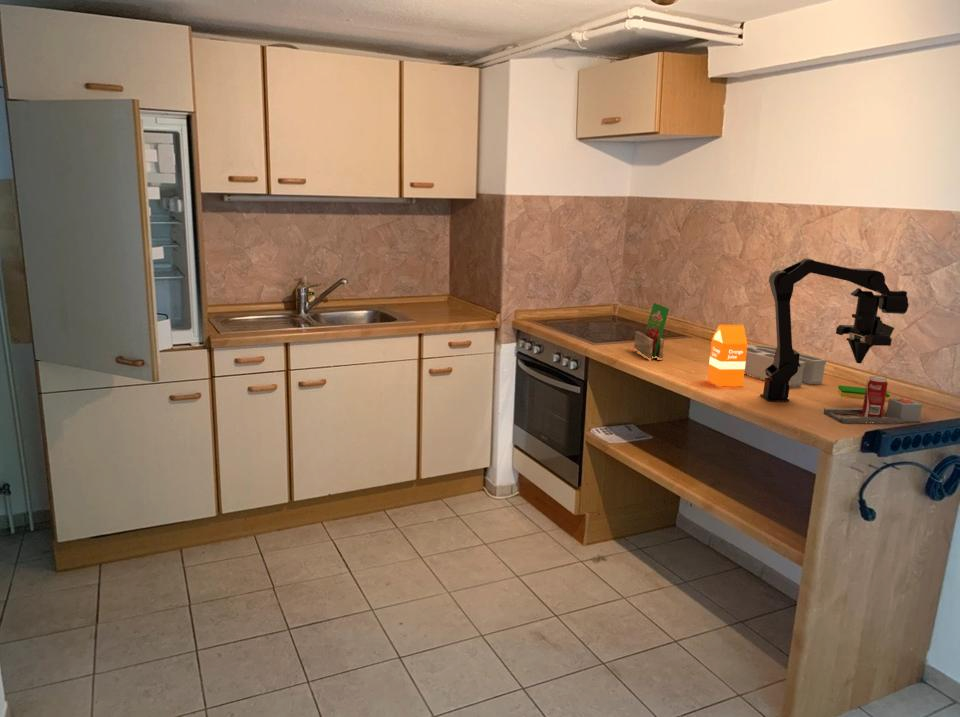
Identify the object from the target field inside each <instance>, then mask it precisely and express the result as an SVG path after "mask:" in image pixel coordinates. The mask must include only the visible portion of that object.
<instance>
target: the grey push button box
mask: <svg viewBox="0 0 960 717" xmlns="http://www.w3.org/2000/svg"><path fill="white" fill-rule="evenodd" d="M886 407H887V409H886V416H887V415H888V416H887V417H889V416H890V417H901V418H903V422H920V421H921V413H922V408H923V404H921V403H920V402H916V401H915V400H912V399H911V403H902V402H900V398H889V401H887V406H886Z"/></svg>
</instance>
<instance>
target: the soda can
mask: <svg viewBox="0 0 960 717" xmlns="http://www.w3.org/2000/svg"><path fill="white" fill-rule="evenodd" d="M865 388H866V390H865V397H864V399H863V404H862V409H863V410H862V415H861V417H883V409H884V410H885V402H886V401H885V397H886V392H887V389H888V381H887V378H886V377H884V376H878V375H870V376H868V379H867V380H866V385H865Z"/></svg>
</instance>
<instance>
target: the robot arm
mask: <svg viewBox="0 0 960 717" xmlns="http://www.w3.org/2000/svg"><path fill="white" fill-rule="evenodd" d="M809 274H815V275H820V276H824V277H829V278H834V279H839V280H843V281H847V282H849V283H852V284H854V285H857V286H859V287H857V288H856V289H855V290H853V291H852V292H850V296H853V297H857V301H856V308H855V313H852V314H851V318H853V319H854V321H853V324H839V325H838V326H837V327H836V330H835V334H836V335H839V336H843V335H849V336H848V337H847V338H846V341H847V342H848V344H849V346H850V349H851V352H852V355H853V357H854V360H855V363H856V364H862V363H863V361H864V359H865V358H866V355H867V353H868V351H869V350H870V349H871V348H872V347H875V346H876V347H877V346H881V347H887V346H888V347H889V346H892V340H893V338H892V334H893V332H894V330H895V327H893V326H891V325H888V324H886V323H883V320H881V316H878V311H879V310H880V311H881V313H883V314H899V315H904V314H906V313H907V312H908V309H909V305H910V304H909V299H908V298H909V297H908V295H907V294H908V291H906V290H890V289H889V286H888V285H887V284H886V277H885V275H884V273H883V272H882V271H880V270H879V271H878V270H876V269H871V268H854V267H853V268H850V267H849V268H848V267H845V266H840V265H836V264H831V263H827V262H822V261H817V260H814V259H812V258H811V259H810V258H808V257H807V258H806V257H805V258H803V259H801V260H800V261H798V262H797V263H795V264H792V265H790V266H788V267H786V268H784V269H782V270H780V269H779V270H775V271H773V272H772V273H771V274H770V275H769V279H768V283H769V287H770V291H771V294H772V296H773V300H774V306H775V307H774V308H775V309H774V310H775V329H776V330H775V331H776V352H775V356H774V363H773V364H772V365H770V366H769V367H768V368H766V369H765V372H766V376H768V377H769V378H765V381H764V384H763V385H764V386H763V392H762V393H761V394H760V395H759V396H760V397H762V398H764V400H767V401H769V402H790V399H789V394H790V393H789V392H790V389H791V388H790V385H789V381H790V379H791V377H792V376H794V375H795V374H796V373H797V371H798V366H799V367H800V364H799V353H800V352H798V351H797V350H795V349H794V348H793V338H792V335H793V334H792V316H791V315H792V314H791V300H792V296H793V293H794V286H795V284H796V283H797V282H799V281H802V279H804V278H805V277H807V276H808V275H809ZM860 287H861V288H864V289H868V290H862V289H861V288H860ZM869 290H870V291H869ZM874 292H875V293H878V294H874Z"/></svg>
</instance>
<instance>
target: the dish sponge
mask: <svg viewBox="0 0 960 717" xmlns="http://www.w3.org/2000/svg"><path fill="white" fill-rule="evenodd" d="M865 390H866V387H861V386H860V387H859V386H850V385H837V393H838V392H839V393H838V395H839V396H840V395H841V396H840V397H843V396H847V397H846V398H853V397H855V398H854V399H862V398H864V397H865ZM890 396H891V395H890V394H889V393H888V392H887V391H886V397H885V402H888V401H889V399H890Z"/></svg>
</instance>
